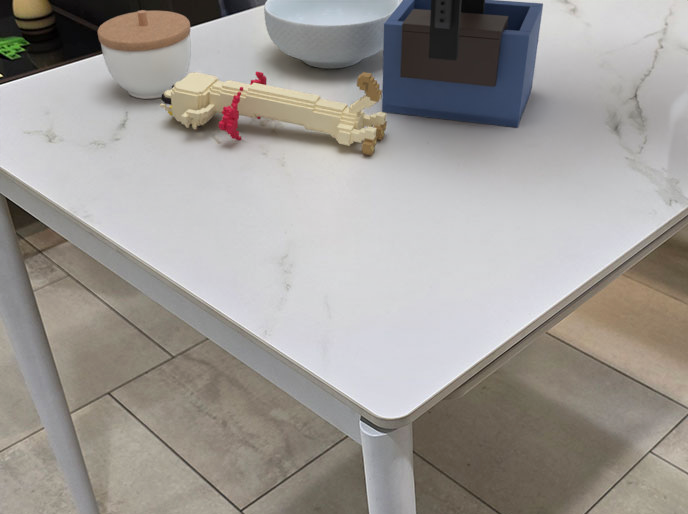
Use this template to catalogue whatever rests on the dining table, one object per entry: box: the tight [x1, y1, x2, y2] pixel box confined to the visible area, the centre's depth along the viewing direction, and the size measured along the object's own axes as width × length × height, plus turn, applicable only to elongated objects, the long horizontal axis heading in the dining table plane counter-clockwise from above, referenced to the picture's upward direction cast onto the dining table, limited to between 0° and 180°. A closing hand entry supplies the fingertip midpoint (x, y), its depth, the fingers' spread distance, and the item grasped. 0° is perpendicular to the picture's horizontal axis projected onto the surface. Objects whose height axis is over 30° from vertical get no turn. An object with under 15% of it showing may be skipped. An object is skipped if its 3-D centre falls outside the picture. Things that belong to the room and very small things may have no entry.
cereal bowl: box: [263, 0, 401, 69], centre depth 107 cm, size 17×17×7 cm
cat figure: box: [159, 70, 388, 156], centre depth 90 cm, size 10×9×25 cm
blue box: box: [381, 0, 544, 128], centre depth 94 cm, size 15×10×10 cm, turn 69°
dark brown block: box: [400, 9, 508, 87], centre depth 89 cm, size 10×5×6 cm, turn 69°
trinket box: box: [97, 9, 192, 100], centre depth 101 cm, size 11×11×9 cm
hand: (458, 34), depth 88 cm, fingers open, 13 cm apart
